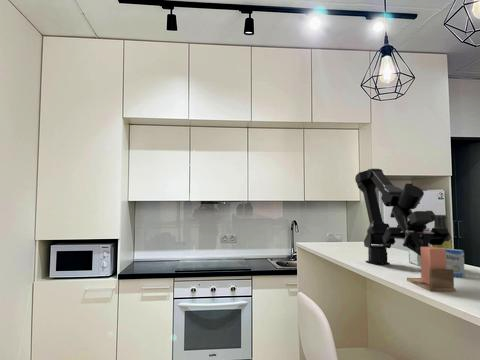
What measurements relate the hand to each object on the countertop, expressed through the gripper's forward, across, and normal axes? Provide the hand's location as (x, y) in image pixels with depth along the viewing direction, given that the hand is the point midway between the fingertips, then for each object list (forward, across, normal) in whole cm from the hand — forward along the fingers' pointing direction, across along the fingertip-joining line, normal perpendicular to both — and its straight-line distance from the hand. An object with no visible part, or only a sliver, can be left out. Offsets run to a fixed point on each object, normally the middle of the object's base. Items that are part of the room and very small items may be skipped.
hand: (427, 258), depth 91 cm
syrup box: (-16, +16, +28) cm, 36 cm away
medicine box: (-4, +16, +15) cm, 22 cm away
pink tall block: (+6, 0, +3) cm, 7 cm away
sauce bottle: (-10, +19, +21) cm, 30 cm away
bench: (+6, 0, +5) cm, 8 cm away
